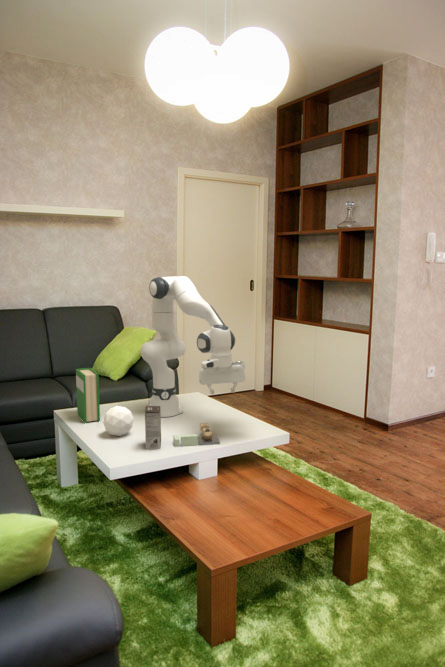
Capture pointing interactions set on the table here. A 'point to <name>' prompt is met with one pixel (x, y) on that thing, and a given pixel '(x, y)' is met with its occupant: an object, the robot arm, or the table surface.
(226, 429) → the table surface
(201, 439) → the pin plate
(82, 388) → the hardback book
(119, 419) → the geodesic sphere
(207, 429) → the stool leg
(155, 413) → the coffee box
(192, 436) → the seat bracket
